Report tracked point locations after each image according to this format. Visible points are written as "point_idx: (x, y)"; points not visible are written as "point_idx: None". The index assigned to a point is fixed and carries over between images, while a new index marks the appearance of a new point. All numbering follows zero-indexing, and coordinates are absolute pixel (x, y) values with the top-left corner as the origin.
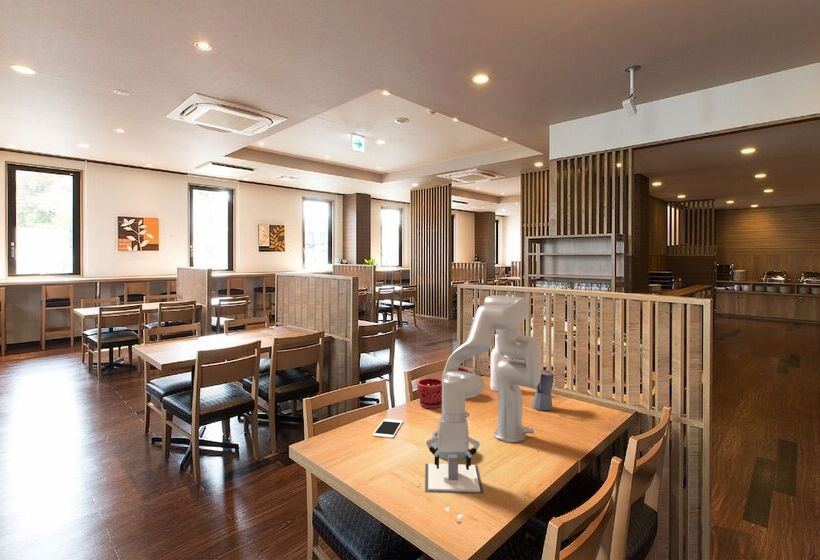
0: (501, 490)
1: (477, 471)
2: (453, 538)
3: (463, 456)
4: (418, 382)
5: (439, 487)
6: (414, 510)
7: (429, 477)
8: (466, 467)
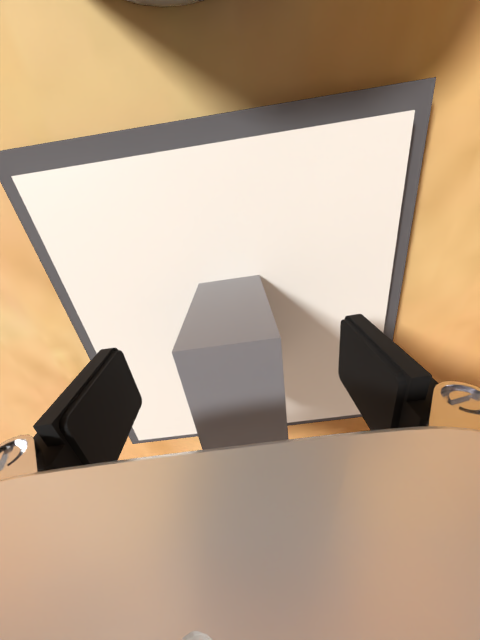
0: (470, 347)
1: (405, 204)
2: None
3: None
4: None
5: (185, 425)
6: None
7: None
8: (343, 377)
